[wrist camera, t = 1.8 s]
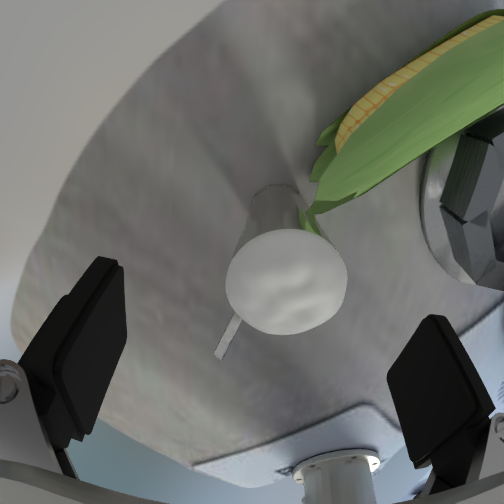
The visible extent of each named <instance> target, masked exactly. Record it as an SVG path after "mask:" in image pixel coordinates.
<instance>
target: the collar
mask: <svg viewBox="0 0 504 504" xmlns="http://www.w3.org/2000/svg"><path fill="white" fill-rule="evenodd" d="M420 218H421V225H422V230H423V234H424V237H425V241H426V243H427V245H428V248H429V250H430V252H431V253H432V255H433V257H434V258H435V260H436V261H437V262H438V263H439V264H440V265H441V267H442V268H443V269H444V270H445V271H446V272H447V273H448V274H449V275H450V276H452V277H453V278H455V279H457V280H458V281H461V282H464V283H467V284H473V285H479V286H484V287H488V288H492V289H497V290H501V291H504V105H503V106H501V107H500V108H498V109H497V110H495V111H493V112H492V113H490V114H488V115H487V116H485V117H483V118H482V119H480V120H479V121H477V122H475V123H474V124H472V125H470V126H469V127H467V128H465V129H464V130H462V131H460V132H459V133H457V134H455V135H454V136H452V137H451V138H449V139H447V140H446V141H444V142H442V143H441V144H439V145H437V146H436V147H434V148H432V149H431V150H429V152H428V155H427V157H426V161H425V165H424V169H423V173H422V180H421V186H420Z"/></svg>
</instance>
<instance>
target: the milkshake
mask: <svg viewBox="0 0 504 504" xmlns="http://www.w3.org/2000/svg"><path fill="white" fill-rule="evenodd" d="M346 286H347V270H346V267H345V264H344V261H343V259H342V257H341V256H340V254H339V253H338V251H337V250H336V248H335V247H334V245H333V244H332V242H331V241H330V239H329V238H328V236H327V235H326V234H325V232H324V231H323V229H322V228H321V226H320V225H319V223H318V221H317V220H316V218H315V216H314V215H313V213H312V211H311V210H310V208H309V207H308V205H307V204H306V202H305V200H304V199H303V197H302V196H301V195H300V194H298V193H297V192H296V191H294V190H293V189H292V188H291V187H289V186H288V185H269V186H267V187H266V188H264V189H263V190H261V191H260V192H258V193H257V194H255V197H254V200H253V203H252V206H251V208H250V211H249V214H248V218H247V221H246V224H245V228H244V231H243V233H242V235H241V237H240V240H239V242H238V245H237V247H236V250H235V252H234V255H233V257H232V260H231V263H230V265H229V268H228V271H227V275H226V281H225V291H226V295H227V298H228V301H229V303H230V305H231V306H232V308H233V309H234V311H235V312H234V314H233V316H232V318H231V320H230V322H229V324H228V326H227V328H226V330H225V332H224V334H223V336H222V338H221V340H220V342H219V343H218V345H217V347H216V349H215V351H214V356H215V357H217V358H218V359H219V360H220V361H222V360H223V358H224V356H225V354H226V352H227V350H228V348H229V346H230V344H231V341H232V339H233V337H234V335H235V333H236V331H237V329H238V327H239V325H240V323H241V321H242V319H243V320H244V321H245V322H246V323H248V324H249V325H251V326H252V327H254V328H256V329H257V330H259V331H262V332H264V333H268V334H275V335H292V334H298V333H302V332H305V331H307V330H310V329H312V328H314V327H316V326H318V325H320V324H322V323H324V322H326V321H327V320H329V319H330V318H331V317H333V316H334V315H335V314H336V312H337V311H338V310H339V309H340V307H341V305H342V303H343V300H344V297H345V292H346Z"/></svg>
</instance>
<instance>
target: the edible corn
mask: <svg viewBox="0 0 504 504" xmlns="http://www.w3.org/2000/svg"><path fill="white" fill-rule="evenodd" d="M503 105H504V9H497V10H491V11H487V12H485V13H482V14H479V15H477V16H475V17H474V18H472V19H470V20H468V21H467V22H465V23H463V24H461V25H460V26H458V27H457V28H455V29H454V30H453V31H451V32H450V33H448V34H447V35H445V36H444V37H442V38H441V39H440V40H438V41H437V42H435V43H434V44H433V45H431V46H430V47H428V48H427V49H426V50H424V51H423V52H422V53H420V54H419V55H418V56H416V57H415V58H414V59H412V60H411V61H410V62H408V63H407V64H406V65H404V66H403V67H402V68H400V69H399V70H398V71H396V72H395V73H393V74H392V75H390V76H389V77H387V78H386V79H384V80H383V81H381V82H380V83H379V84H377V85H376V86H375V87H374V88H373V89H371V90H370V91H369V92H368V93H367V94H365V95H364V96H363V97H362V98H361V99H359V100H358V101H357V102H356V103H355V104H354V105H353V106H352V107H351V108H350V109H348V110H347V111H346V112H345V113H344V114H343V115H341V116H340V117H339V118H338V119H337V120H336V121H334V122H333V123H332V124H331V125H330V126H329V127H328V128H326V129H325V130H324V131H323V132H322V133H321V135H320V137H319V139H318V141H317V142H316V144H315V145H320V146H328V147H327V148H326V149H325V151H324V152H323V153H322V154H321V156H320V157H319V158H318V159H317V161H316V162H315V163H314V165H313V169H312V173H311V176H310V180H309V182H318V181H320V182H319V186H318V190H317V193H316V197H315V201H314V203H313V204H312V206H311V208H310V210H311V211H312V213H313V215H315V214H322V213H324V212H326V211H329V210H331V209H333V208H335V207H337V206H339V205H341V204H343V203H346V202H348V201H350V200H352V199H354V198H356V197H358V196H361V195H363V194H365V193H366V192H368V191H369V190H370V189H372V188H373V187H375V186H376V185H378V184H379V183H381V182H382V181H384V180H385V179H387V178H388V177H390V176H391V175H393V174H394V173H396V172H397V171H399V170H400V169H402V168H403V167H404V166H406V165H407V164H409V163H410V162H412V161H413V160H415V159H416V158H418V157H419V156H421V155H422V154H424V153H426V152H427V151H429V150H431V149H432V148H434V147H436V146H437V145H439V144H441V143H442V142H444V141H446V140H447V139H449V138H451V137H452V136H454V135H455V134H457V133H459V132H460V131H462V130H464V129H465V128H467V127H469V126H470V125H472V124H474V123H475V122H477V121H479V120H480V119H482V118H483V117H485V116H487V115H488V114H490V113H492V112H493V111H495V110H497V109H498V108H500V107H501V106H503Z"/></svg>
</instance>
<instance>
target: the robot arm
mask: <svg viewBox="0 0 504 504" xmlns="http://www.w3.org/2000/svg"><path fill="white" fill-rule="evenodd" d="M126 340H127V326H126V312H125V294H124V270H123V267H122V266H118V261H117V260H115V259H110V258H105V257H101V256H98V257H97V258H96V259H95V260H94V261H93V262H92V264H91V265H90V266H89V268H88V269H87V270H86V272H85V273H84V274H83V275H82V277H81V278H80V279H79V281H78V282H77V283H76V285H75V286H74V288H73V289H72V290H71V292H70V293H69V294H68V295H65V296H63V297H62V298H61V299H60V300H59V302H58V303H57V305H56V306H55V307H54V309H53V310H52V312H51V313H50V314H49V316H48V317H47V319H46V320H45V322H44V323H43V325H42V326H41V328H40V329H39V331H38V332H37V334H36V335H35V337H34V338H33V340H32V341H31V343H30V344H29V346H28V347H27V349H26V351H25V352H24V354H23V355H22V357H21V359H20V360H19V362H18V363H15V362H13V361H11V360H6V359H1V360H0V504H168V503H163V502H158V501H153V500H148V499H144V498H139V497H135V496H131V495H128V494H124V493H120V492H116V491H113V490H109V489H106V488H103V487H99V486H96V485H93V484H90V483H87V482H84V481H80V479H79V477H78V475H77V472H76V470H75V468H74V466H73V464H72V461H71V459H70V457H69V455H68V452H67V450H66V448H67V447H68V445H69V443H70V440H71V438H72V439H75V440H78V441H81V442H82V441H83V438H84V435H85V434H87V435H89V434H90V433H91V432H92V430H93V427H94V424H95V421H96V418H97V416H98V413H99V410H100V407H101V405H102V402H103V399H104V397H105V394H106V391H107V389H108V386H109V384H110V381H111V379H112V376H113V373H114V371H115V368H116V366H117V364H118V361H119V359H120V356H121V354H122V351H123V349H124V347H125V344H126ZM387 383H388V386H389V389H390V392H391V395H392V399H393V402H394V405H395V408H396V412H397V415H398V418H399V422H400V425H401V429H402V432H403V436H404V439H405V443H406V447H407V450H408V454H409V458H410V460H411V461H412V462H413V464H414V468H415V469H420V468H425V467H428V466H429V465H431V464H432V466H433V468H432V470H431V473H430V475H429V477H428V480H427V482H426V484H425V487H424V489H423V491H422V493H421V495H420V497H419V498H417V499H413V500H408V501H404V502H399V503H394V504H504V413H497V414H495V415H494V416H493V417H492V418H491V419H489V417H488V416H489V415H490V414H491V413H492V412H493V411H494V410H495V409H496V408H495V406H494V404H493V402H492V400H491V398H490V396H489V394H488V392H487V390H486V388H485V386H484V384H483V382H482V380H481V378H480V376H479V374H478V372H477V370H476V368H475V366H474V365H473V363H472V361H471V359H470V357H469V355H468V354H467V352H466V350H465V348H464V347H463V345H462V343H461V341H460V340H459V338H458V336H457V334H456V333H455V331H454V329H453V328H452V326H451V324H450V323H449V321H448V319H447V318H446V317H445V316H442V315H434V314H430V315H428V316H427V317H426V318H424V319H423V320H422V321H421V323H420V325H419V326H418V328H417V329H416V331H415V333H414V334H413V336H412V337H411V339H410V340H409V342H408V343H407V345H406V346H405V348H404V349H403V351H402V352H401V354H400V355H399V357H398V358H397V359H396V361H395V362H394V364H393V365H392V367H391V368H390V369H389V371H388V373H387ZM379 464H380V458H379V455H378V454H377V453H376V452H374V451H371V450H366V449H349V450H341V451H335V452H330V453H325V454H322V455H318V456H315V457H312V458H310V459H307V460H305V461H303V462H301V463H300V464H298V465H297V466H296V467H295V468H294V469H293V472H292V476H293V480H294V481H295V482H297V483H299V484H302V485H304V489H305V496H304V497H303V498H302V503H303V504H376V498H375V492H374V487H373V481H372V475H371V472H373V471H374V470H375V469H376V468H377V467H378V466H379Z"/></svg>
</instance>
